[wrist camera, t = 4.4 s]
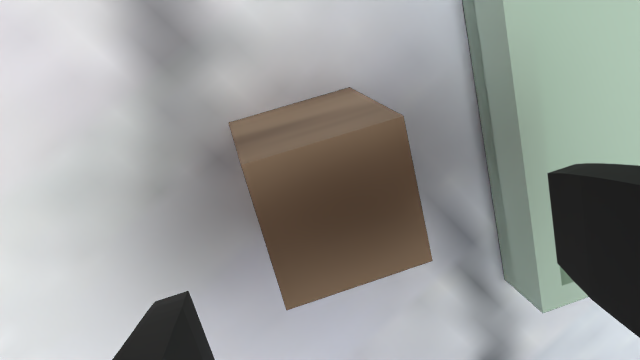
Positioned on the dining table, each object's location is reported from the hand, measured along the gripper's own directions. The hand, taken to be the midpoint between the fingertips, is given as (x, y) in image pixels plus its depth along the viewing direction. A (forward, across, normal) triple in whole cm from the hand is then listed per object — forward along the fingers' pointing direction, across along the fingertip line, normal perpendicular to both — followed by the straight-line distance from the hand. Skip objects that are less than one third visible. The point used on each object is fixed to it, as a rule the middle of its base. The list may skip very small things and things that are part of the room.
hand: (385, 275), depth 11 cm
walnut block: (+8, 0, 0) cm, 8 cm away
